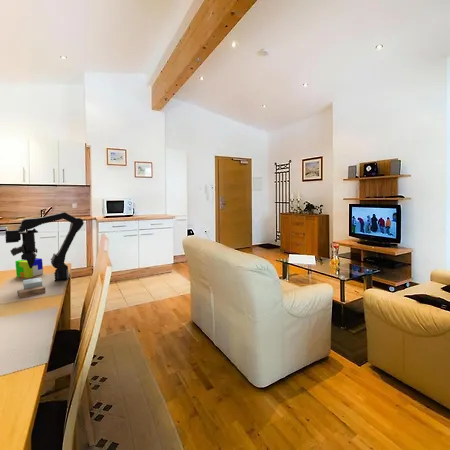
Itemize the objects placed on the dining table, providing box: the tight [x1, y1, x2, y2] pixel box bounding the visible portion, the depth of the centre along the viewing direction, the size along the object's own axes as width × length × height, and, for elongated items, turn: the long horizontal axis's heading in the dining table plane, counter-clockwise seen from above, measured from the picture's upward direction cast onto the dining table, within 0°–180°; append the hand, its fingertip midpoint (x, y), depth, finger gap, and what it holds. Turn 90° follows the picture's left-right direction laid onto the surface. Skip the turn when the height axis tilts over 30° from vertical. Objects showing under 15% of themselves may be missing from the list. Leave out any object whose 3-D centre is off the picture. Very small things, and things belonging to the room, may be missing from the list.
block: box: [22, 277, 44, 289], centre depth 153 cm, size 8×9×5 cm
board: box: [17, 285, 46, 299], centre depth 146 cm, size 11×5×3 cm, turn 137°
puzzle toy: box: [15, 257, 44, 279], centre depth 180 cm, size 10×10×10 cm
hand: (31, 268), depth 160 cm, fingers closed
